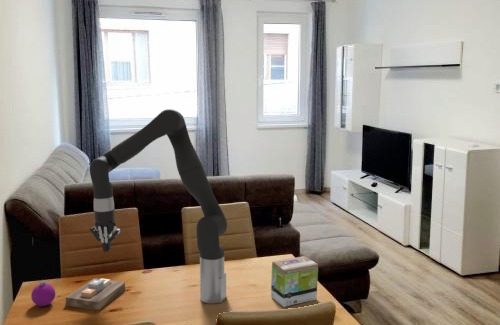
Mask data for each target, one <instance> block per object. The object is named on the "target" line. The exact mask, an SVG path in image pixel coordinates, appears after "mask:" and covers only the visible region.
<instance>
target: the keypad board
mask: <svg viewBox="0 0 500 325" xmlns="http://www.w3.org/2000/svg"><path fill="white" fill-rule="evenodd" d="M94 279H95V280H100V279H101V278H95V277H94V278H92V279H91V280H89V281H88V282H86V283H85V284H84V285H82V286H80V287H78V289H76V290H74V291H73V292H72V293H69V294H68V295H67V296H65V306H69V307H74V308H80V309H87V310H93V311H100V310H101V309H103V308H104V307H105V306H107V305H109V303H111V302H112V301H113V300H115V299H116V298H117V297H118V296H119V295H121V294H122V293H123V292H125V291H126V282H125V281H124V282H123V281H117V280H112V279H110V285H109V286H107V287H106V288H105V289H103V290H102V291H100V292H98V293H97V294H96V295H95V296H93V297H92V298H86V297H81V292H82V291H83V290H85V289H86V288H88V283H90V282H91V281H93V280H94Z"/></svg>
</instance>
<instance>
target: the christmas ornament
mask: <svg viewBox="0 0 500 325" xmlns="http://www.w3.org/2000/svg"><path fill="white" fill-rule="evenodd" d="M30 297H31V300H32V303H34V304H35V305H36V306H38V307H46V306H48V305H50V304H51V303H52V302H53V301H54V299H55V298H56V290H55V287H54V286H53V285H51V284H50V283H47V282H46V281H45V280H43V279H42V280H41V281H40V282H39V284H38V285H35V287H34V288H33V289H32V292H31V296H30Z"/></svg>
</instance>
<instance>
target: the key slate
mask: <svg viewBox="0 0 500 325" xmlns="http://www.w3.org/2000/svg"><path fill="white" fill-rule="evenodd" d="M93 279H94V278H93ZM90 281H91V280H90ZM87 283H88V282H87ZM88 288H94V289H97V293H98V292H100V291H101V290H103V289H104V281H102V280H95V279H94V280H93V281H91V282H90V283H88Z"/></svg>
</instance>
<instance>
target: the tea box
mask: <svg viewBox="0 0 500 325" xmlns="http://www.w3.org/2000/svg"><path fill="white" fill-rule="evenodd" d="M271 262H272V264H271V280H270V281H271V284H270V286H271V287H270V297H271V298H272V299H273V300H274V301H275V302H277V303H278V305H280V306H281V307H283V308H286V307H289V306H292V305H298V304H302V303H306V302H312V301H317V296H318V281H319V280H318V277H319V276H318V275H319V264H318V263H316V262H315V261H313V260H311V259H310V258H309V257H307V256H304V255H302V256H297V257H292V258H286V259H282V260H280V259H279V260H276V261H271Z"/></svg>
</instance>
